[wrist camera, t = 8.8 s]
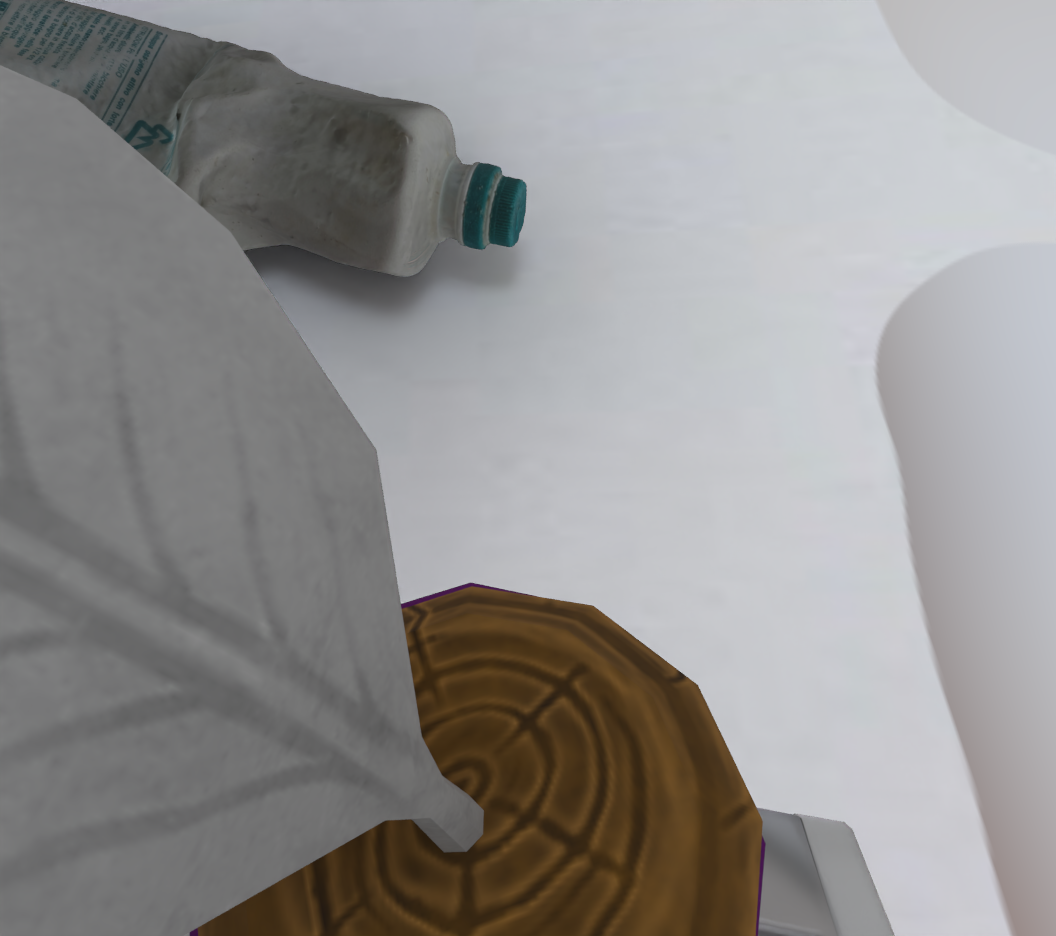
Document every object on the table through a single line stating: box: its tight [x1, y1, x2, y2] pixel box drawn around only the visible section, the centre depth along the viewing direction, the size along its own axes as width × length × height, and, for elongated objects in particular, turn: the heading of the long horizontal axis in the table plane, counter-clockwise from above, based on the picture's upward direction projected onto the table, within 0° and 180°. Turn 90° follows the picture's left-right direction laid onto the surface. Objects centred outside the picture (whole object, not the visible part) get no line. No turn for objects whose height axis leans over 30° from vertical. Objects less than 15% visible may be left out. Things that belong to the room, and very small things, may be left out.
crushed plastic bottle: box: [0, 0, 527, 277], centre depth 35 cm, size 13×7×25 cm
